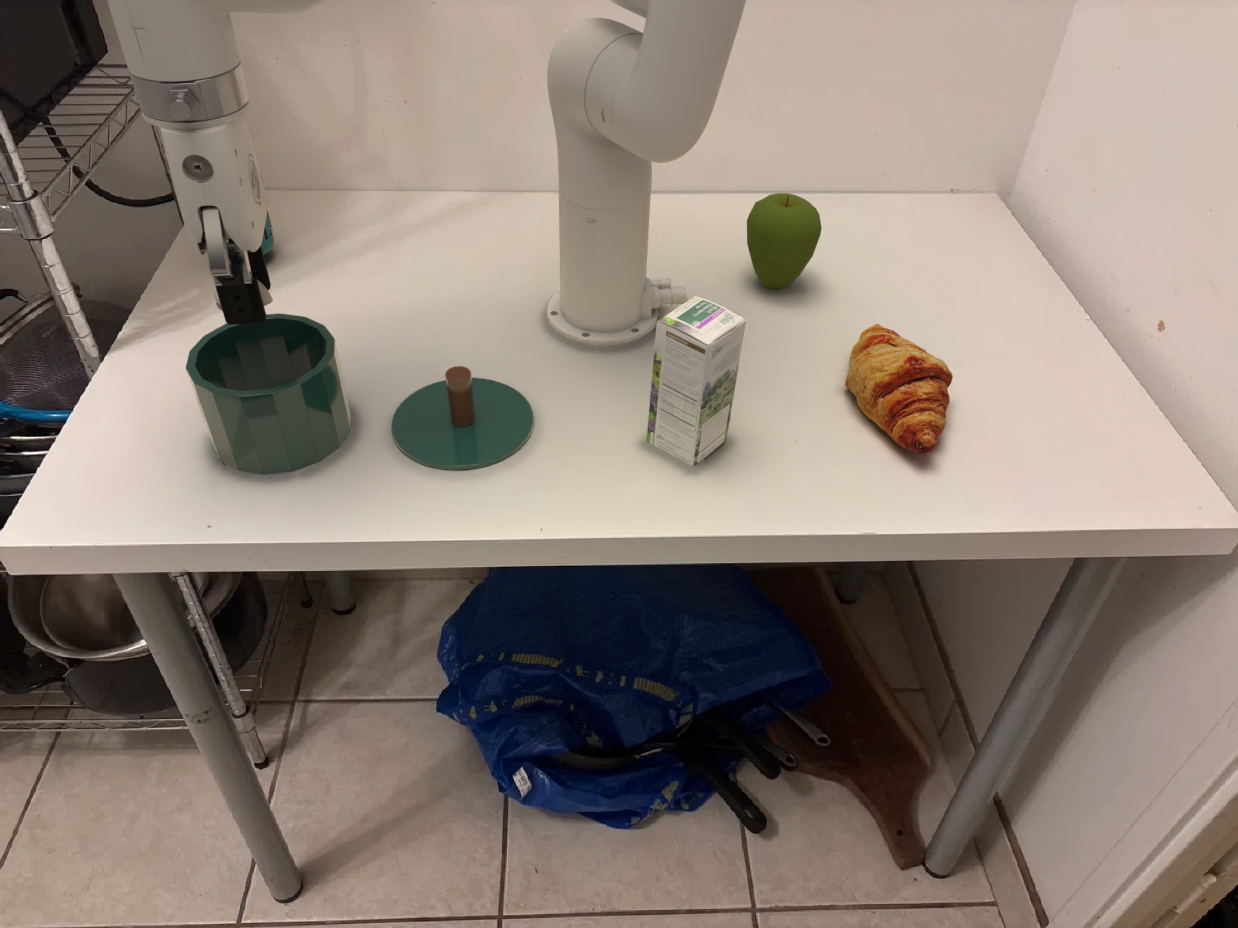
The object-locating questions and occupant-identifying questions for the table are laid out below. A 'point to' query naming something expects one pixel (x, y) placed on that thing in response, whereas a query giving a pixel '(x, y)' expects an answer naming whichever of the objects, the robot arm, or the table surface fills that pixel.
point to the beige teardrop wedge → (264, 292)
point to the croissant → (900, 387)
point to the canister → (271, 393)
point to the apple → (782, 238)
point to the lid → (462, 422)
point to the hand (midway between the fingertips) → (249, 303)
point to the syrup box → (694, 379)
